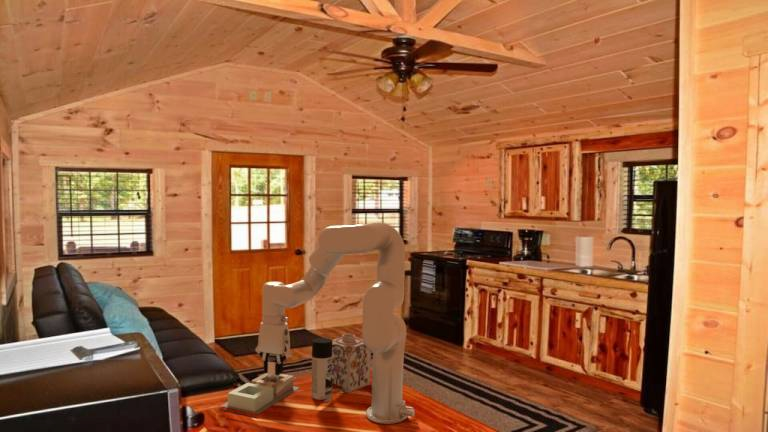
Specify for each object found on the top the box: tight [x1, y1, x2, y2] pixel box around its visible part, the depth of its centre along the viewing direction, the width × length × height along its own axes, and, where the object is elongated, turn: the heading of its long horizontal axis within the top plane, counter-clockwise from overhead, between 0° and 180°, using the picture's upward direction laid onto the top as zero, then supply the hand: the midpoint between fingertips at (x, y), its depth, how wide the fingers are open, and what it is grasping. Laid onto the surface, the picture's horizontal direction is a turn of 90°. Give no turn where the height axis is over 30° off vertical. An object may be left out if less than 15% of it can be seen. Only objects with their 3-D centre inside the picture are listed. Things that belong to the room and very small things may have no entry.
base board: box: [219, 385, 300, 420], centre depth 176 cm, size 14×24×2 cm, turn 158°
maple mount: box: [250, 373, 294, 398], centre depth 181 cm, size 10×10×4 cm
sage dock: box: [227, 382, 273, 412], centre depth 170 cm, size 10×10×4 cm
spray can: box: [311, 337, 333, 404], centre depth 178 cm, size 7×7×20 cm
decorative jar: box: [332, 333, 372, 394], centre depth 192 cm, size 12×12×18 cm
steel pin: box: [267, 353, 279, 383], centre depth 181 cm, size 4×4×11 cm
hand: (273, 372), depth 181 cm, fingers closed on steel pin, 4 cm apart
